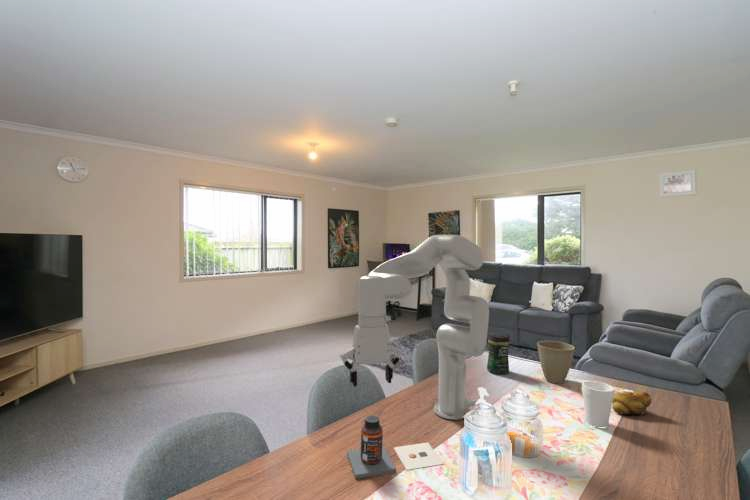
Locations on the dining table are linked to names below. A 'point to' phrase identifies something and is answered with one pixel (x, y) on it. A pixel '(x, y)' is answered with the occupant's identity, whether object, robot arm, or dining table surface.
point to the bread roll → (631, 402)
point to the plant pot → (555, 360)
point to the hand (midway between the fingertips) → (371, 383)
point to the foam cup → (597, 402)
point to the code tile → (417, 456)
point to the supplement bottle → (371, 440)
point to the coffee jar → (498, 353)
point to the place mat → (369, 470)
